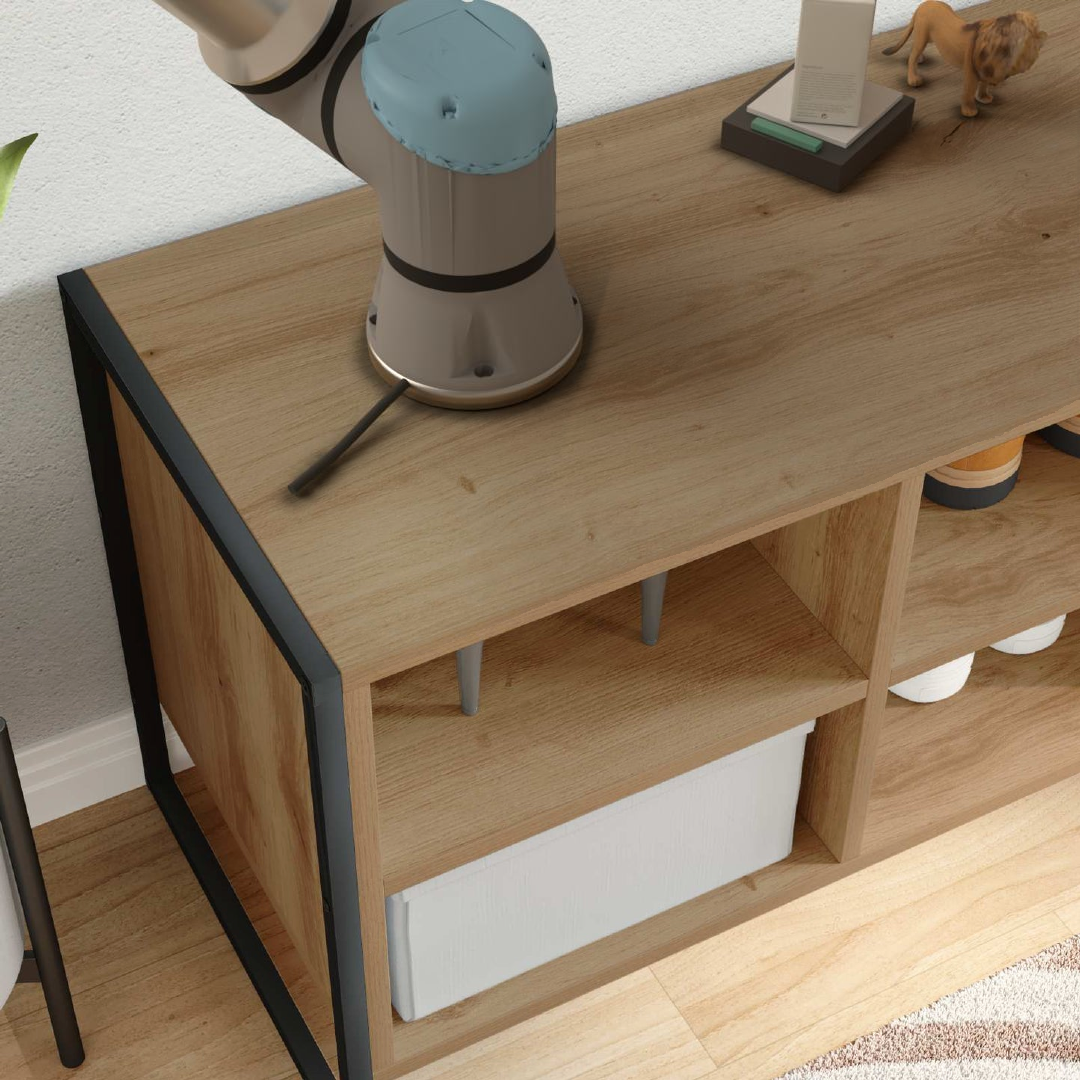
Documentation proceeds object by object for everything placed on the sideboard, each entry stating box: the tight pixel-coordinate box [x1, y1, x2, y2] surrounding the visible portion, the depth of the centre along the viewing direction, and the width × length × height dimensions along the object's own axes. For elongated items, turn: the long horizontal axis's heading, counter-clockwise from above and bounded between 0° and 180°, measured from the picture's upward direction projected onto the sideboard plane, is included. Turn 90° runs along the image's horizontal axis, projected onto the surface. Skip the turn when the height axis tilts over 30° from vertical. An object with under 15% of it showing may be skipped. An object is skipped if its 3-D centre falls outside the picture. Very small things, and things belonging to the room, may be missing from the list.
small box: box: [790, 0, 878, 126], centre depth 124 cm, size 8×6×10 cm
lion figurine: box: [881, 0, 1049, 118], centre depth 131 cm, size 15×5×9 cm, turn 44°
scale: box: [719, 61, 917, 193], centre depth 128 cm, size 12×11×3 cm
